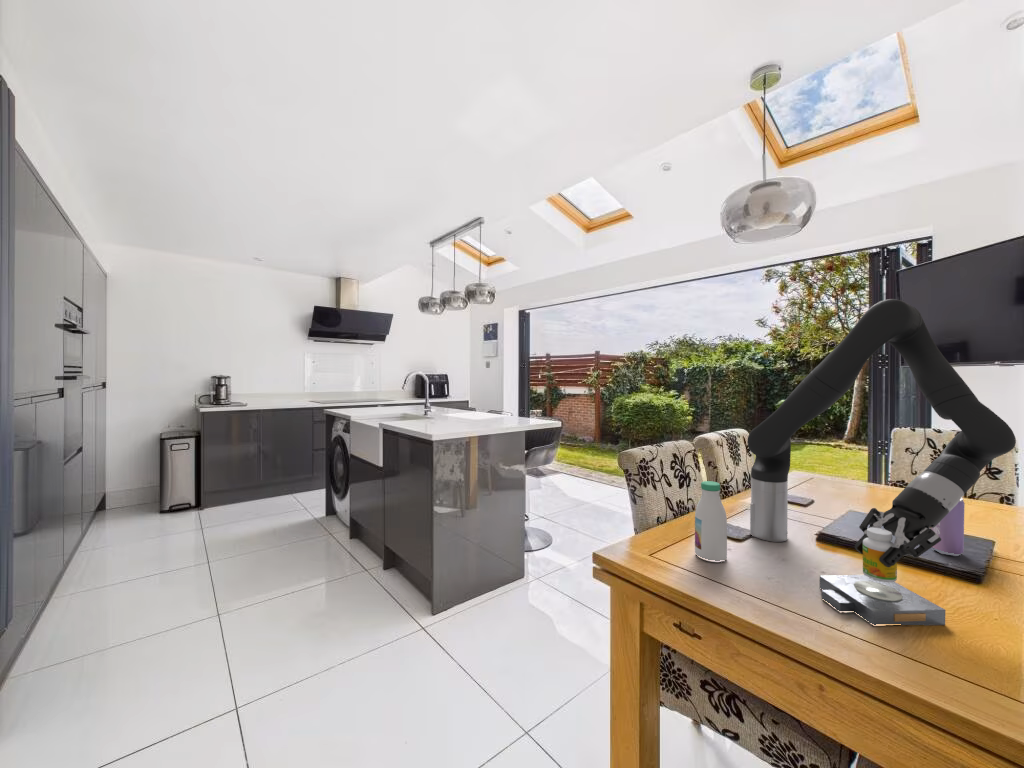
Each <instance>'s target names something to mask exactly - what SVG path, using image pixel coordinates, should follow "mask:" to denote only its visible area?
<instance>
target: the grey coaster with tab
mask: <svg viewBox="0 0 1024 768" xmlns="http://www.w3.org/2000/svg"><path fill="white" fill-rule="evenodd" d="M820 588H821V589H823V590H821V589H820ZM819 589H820V590H821V600H822V599H824V600H825V601H827V602H828V603H830V604H831V605H832V606H833V607H835V608H836V609H837V610H839V611H854V612H856V613H857V614H859V615H860V616H862V617H863V618H864V619H866V620H867V621H869V622H870V623H872V624H874V625H876V624H901V625H924V626H946V609H945V608H943V607H941V606H939V605H938V604H936V603H934V602H932V601H930V600H929V599H927V598H925V597H923V596H921V595H919V594H917V593H916V592H914V591H912V590H910V589H908V588H906V587H905V586H903V585H901V584H899V583H897V582H896V581H895V582H881V581H877V580H874V579H871V578H869V577H867V576H866V575H864V574H848V575H847V574H845V575H844V574H840V575H839V574H837V575H835V574H834V575H819Z"/></svg>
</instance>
